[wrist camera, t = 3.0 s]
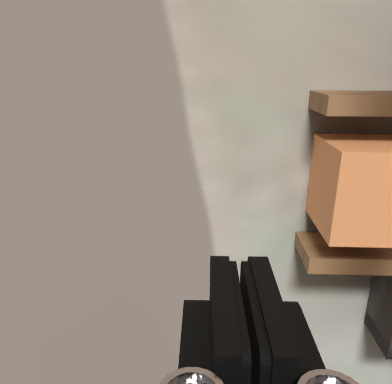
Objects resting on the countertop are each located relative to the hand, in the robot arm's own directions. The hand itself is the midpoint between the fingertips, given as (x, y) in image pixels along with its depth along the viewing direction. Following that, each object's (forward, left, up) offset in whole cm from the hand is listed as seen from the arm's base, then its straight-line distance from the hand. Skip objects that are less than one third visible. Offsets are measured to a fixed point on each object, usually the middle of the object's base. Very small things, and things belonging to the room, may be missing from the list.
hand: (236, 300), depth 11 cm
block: (-8, 0, -13) cm, 15 cm away
